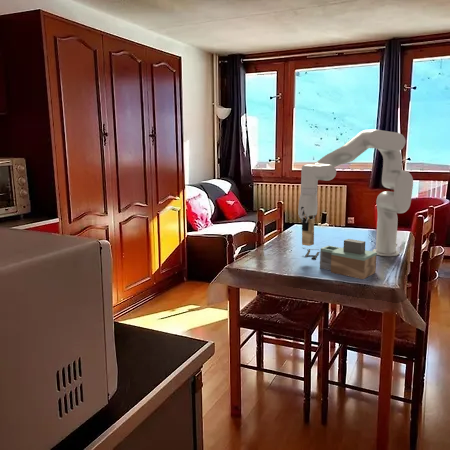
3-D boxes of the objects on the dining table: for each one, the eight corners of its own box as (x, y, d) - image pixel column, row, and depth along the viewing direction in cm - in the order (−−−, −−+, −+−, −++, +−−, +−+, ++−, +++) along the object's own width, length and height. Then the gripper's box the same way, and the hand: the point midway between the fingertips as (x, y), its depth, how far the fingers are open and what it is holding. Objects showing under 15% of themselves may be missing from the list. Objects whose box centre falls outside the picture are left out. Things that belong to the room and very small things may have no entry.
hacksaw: (315, 261, 209) (315, 258, 208) (294, 259, 212) (294, 256, 212) (322, 249, 231) (322, 246, 231) (303, 247, 234) (303, 245, 234)
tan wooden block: (306, 243, 207) (306, 218, 205) (313, 244, 204) (314, 219, 202) (302, 244, 204) (302, 219, 202) (309, 245, 201) (309, 220, 199)
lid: (331, 247, 201) (331, 234, 200) (376, 255, 186) (377, 241, 185) (317, 252, 192) (317, 238, 191) (363, 260, 177) (364, 246, 176)
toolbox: (330, 263, 202) (331, 247, 201) (375, 272, 188) (376, 255, 186) (316, 269, 194) (317, 252, 192) (363, 279, 179) (363, 260, 177)
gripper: (311, 189, 208) (310, 226, 212) (292, 192, 196) (291, 231, 200) (325, 190, 203) (323, 228, 207) (306, 193, 191) (304, 234, 195)
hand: (307, 229), depth 203 cm, fingers closed on tan wooden block, 4 cm apart
